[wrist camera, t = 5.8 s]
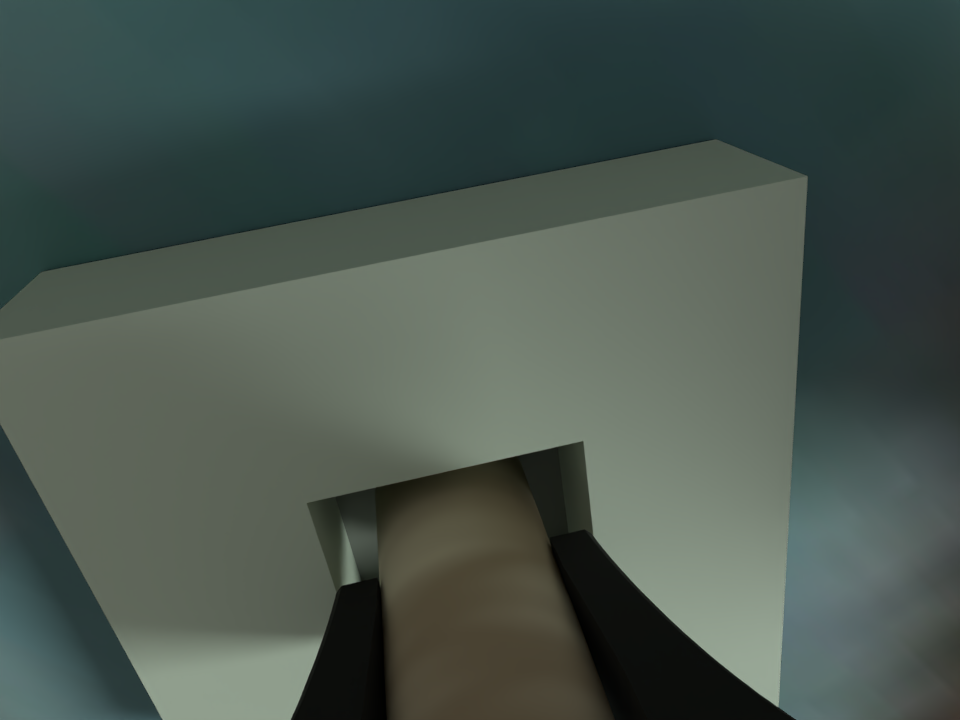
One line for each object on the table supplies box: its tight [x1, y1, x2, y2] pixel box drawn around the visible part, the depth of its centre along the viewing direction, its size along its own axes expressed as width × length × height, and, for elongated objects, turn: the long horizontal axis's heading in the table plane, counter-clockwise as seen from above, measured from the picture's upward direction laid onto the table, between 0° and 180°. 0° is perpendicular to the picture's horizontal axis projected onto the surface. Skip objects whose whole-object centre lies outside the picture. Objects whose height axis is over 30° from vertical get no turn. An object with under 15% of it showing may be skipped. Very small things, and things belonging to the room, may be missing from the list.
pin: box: [375, 456, 615, 720], centre depth 12 cm, size 3×3×7 cm
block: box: [0, 139, 808, 720], centre depth 14 cm, size 12×12×3 cm
